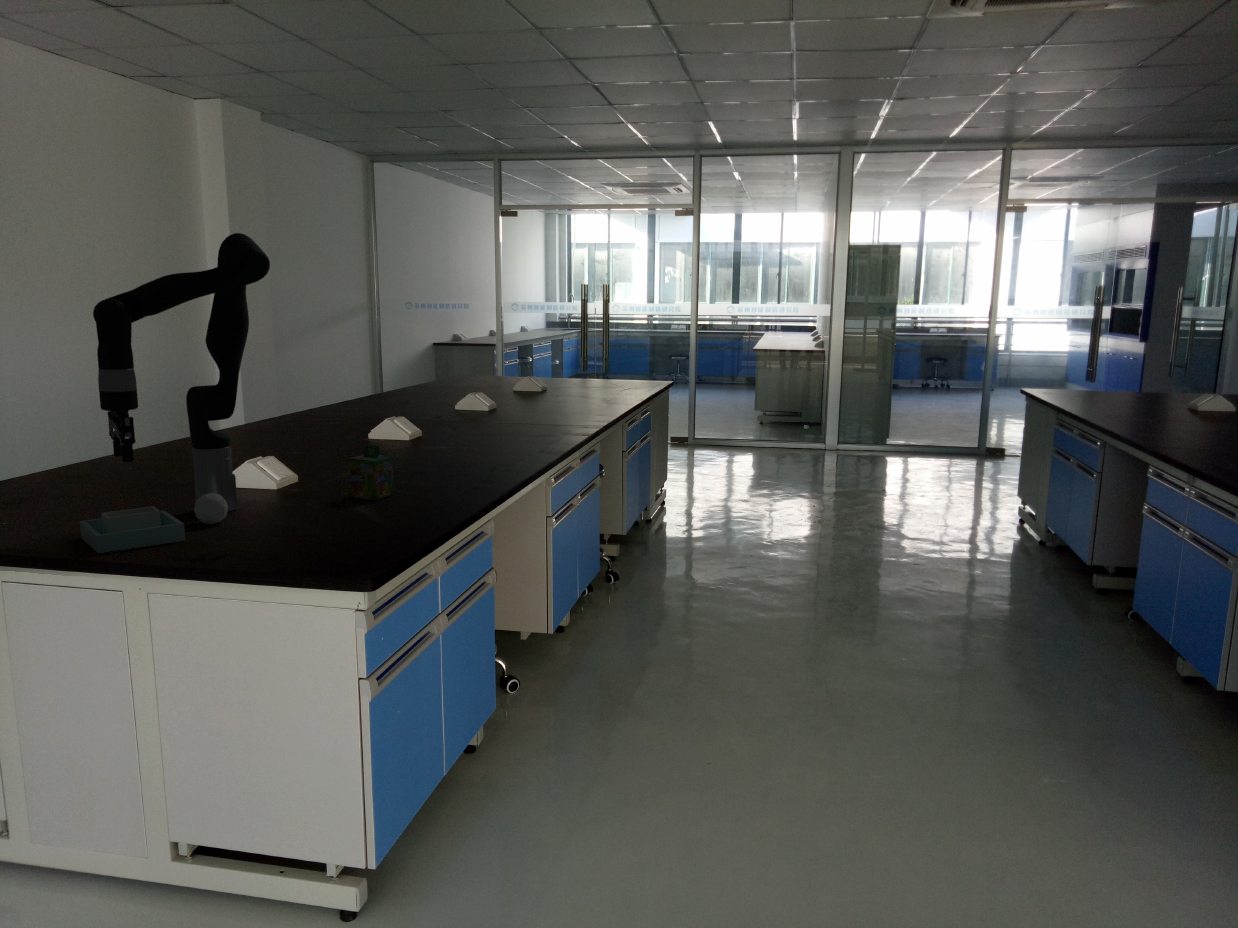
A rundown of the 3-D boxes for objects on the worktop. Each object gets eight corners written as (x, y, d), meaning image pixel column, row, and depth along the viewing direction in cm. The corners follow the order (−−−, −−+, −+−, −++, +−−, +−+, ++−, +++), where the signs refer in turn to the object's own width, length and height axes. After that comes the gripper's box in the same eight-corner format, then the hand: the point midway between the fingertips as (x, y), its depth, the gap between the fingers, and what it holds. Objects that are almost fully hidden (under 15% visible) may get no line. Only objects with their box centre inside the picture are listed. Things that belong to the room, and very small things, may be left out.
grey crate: (155, 530, 213) (153, 506, 212) (161, 535, 209) (159, 511, 208) (103, 537, 206) (101, 512, 205) (109, 543, 202) (106, 517, 201)
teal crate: (164, 527, 220) (163, 510, 219) (185, 542, 207) (184, 523, 207) (81, 539, 208) (79, 521, 207) (98, 555, 196) (96, 536, 195)
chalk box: (348, 498, 253) (346, 447, 250) (367, 492, 261) (366, 442, 259) (375, 501, 250) (373, 449, 247) (394, 494, 258) (393, 444, 256)
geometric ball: (203, 533, 223) (185, 507, 223) (233, 518, 228) (215, 492, 228) (206, 525, 217) (188, 498, 217) (236, 509, 222) (218, 483, 222)
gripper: (144, 390, 198) (149, 462, 201) (129, 385, 209) (134, 452, 212) (106, 392, 194) (112, 465, 197) (92, 386, 204) (98, 455, 207)
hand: (123, 458), depth 204 cm, fingers open, 8 cm apart
